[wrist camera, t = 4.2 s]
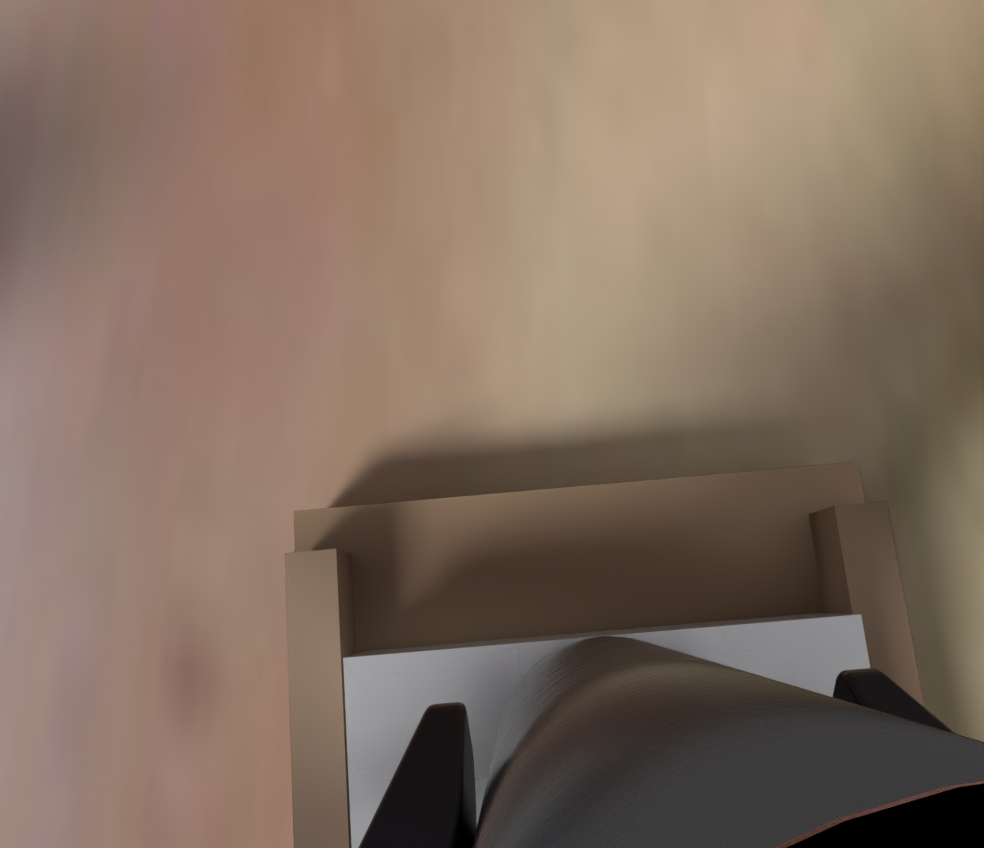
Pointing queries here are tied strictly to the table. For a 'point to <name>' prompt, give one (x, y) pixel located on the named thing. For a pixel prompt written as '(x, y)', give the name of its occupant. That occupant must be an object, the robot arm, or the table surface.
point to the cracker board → (570, 583)
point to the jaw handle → (670, 740)
